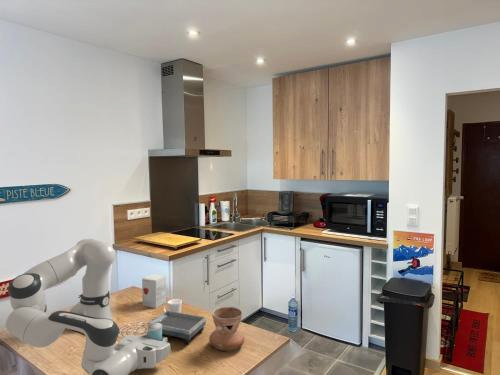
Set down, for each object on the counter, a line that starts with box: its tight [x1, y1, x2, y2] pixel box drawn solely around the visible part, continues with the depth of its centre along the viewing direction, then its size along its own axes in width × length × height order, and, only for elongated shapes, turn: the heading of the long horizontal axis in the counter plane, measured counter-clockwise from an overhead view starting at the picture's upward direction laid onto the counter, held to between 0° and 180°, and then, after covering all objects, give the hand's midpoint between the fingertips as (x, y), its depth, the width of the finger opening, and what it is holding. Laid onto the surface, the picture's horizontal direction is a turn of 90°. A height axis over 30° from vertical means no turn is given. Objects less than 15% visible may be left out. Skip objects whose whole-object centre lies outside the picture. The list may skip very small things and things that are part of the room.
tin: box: [147, 323, 163, 341], centre depth 138 cm, size 5×5×11 cm
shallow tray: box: [148, 309, 207, 345], centre depth 153 cm, size 20×14×6 cm
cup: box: [162, 298, 183, 313], centre depth 170 cm, size 7×10×8 cm
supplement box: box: [141, 273, 167, 309], centre depth 185 cm, size 9×9×15 cm
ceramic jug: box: [208, 306, 246, 352], centre depth 144 cm, size 18×14×14 cm
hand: (156, 337), depth 138 cm, fingers open, 7 cm apart
